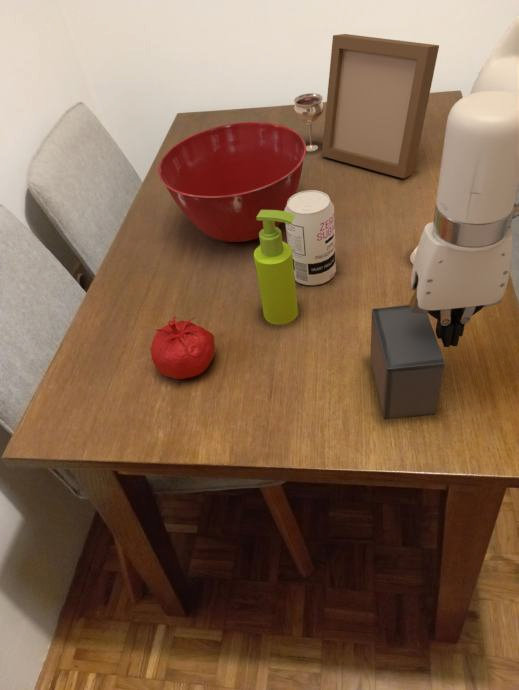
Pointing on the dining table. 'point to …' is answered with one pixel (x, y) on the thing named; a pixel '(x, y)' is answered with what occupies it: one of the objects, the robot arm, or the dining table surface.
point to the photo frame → (377, 102)
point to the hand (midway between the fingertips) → (447, 339)
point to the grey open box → (405, 362)
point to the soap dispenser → (275, 269)
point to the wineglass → (309, 112)
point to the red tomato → (182, 349)
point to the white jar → (413, 255)
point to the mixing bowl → (234, 176)
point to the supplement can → (312, 237)
